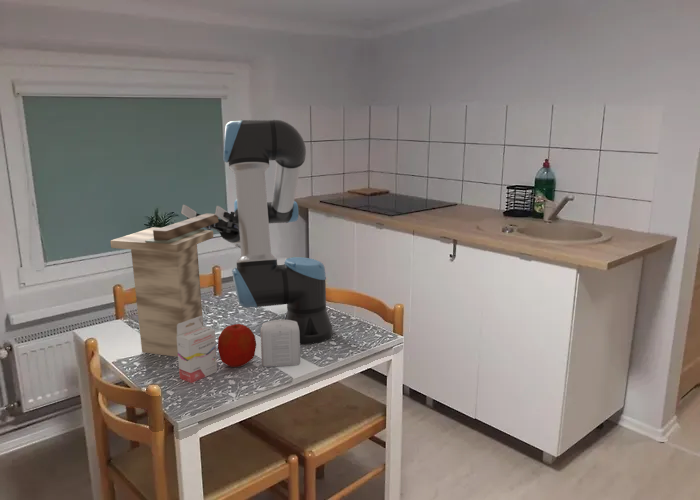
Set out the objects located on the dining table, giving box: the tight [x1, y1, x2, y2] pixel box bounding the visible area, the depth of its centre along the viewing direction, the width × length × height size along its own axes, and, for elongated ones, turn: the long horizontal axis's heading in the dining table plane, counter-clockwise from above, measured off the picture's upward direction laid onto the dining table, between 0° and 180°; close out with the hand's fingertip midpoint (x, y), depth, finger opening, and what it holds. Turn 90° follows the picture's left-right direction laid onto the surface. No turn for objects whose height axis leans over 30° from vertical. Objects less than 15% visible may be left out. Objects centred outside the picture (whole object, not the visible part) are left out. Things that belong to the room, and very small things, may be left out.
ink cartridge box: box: [177, 316, 218, 384], centre depth 142 cm, size 9×5×15 cm, turn 144°
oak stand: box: [110, 226, 215, 358], centre depth 157 cm, size 18×20×33 cm
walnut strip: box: [153, 213, 219, 241], centre depth 157 cm, size 26×4×2 cm, turn 163°
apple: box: [217, 323, 257, 368], centre depth 149 cm, size 10×10×12 cm
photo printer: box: [260, 319, 301, 367], centre depth 149 cm, size 10×4×12 cm, turn 98°
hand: (199, 209), depth 165 cm, fingers open, 11 cm apart
